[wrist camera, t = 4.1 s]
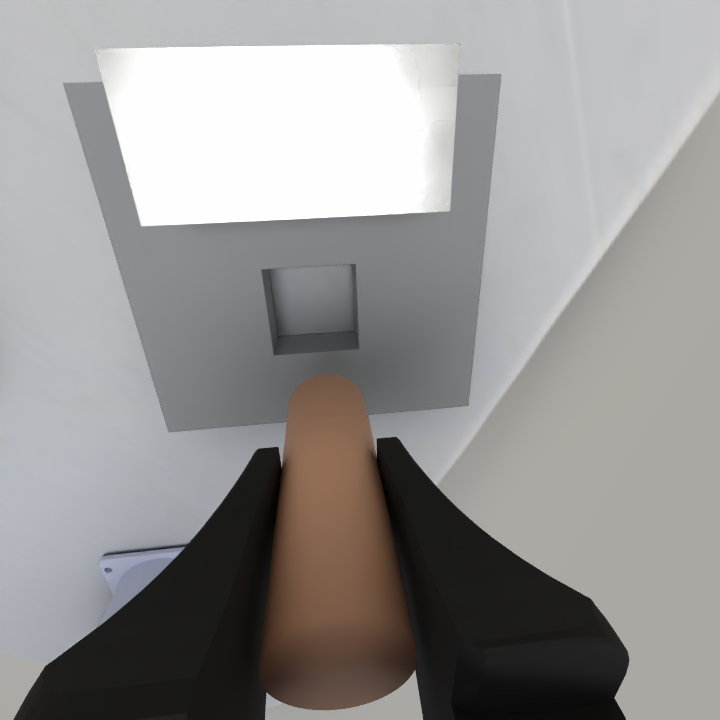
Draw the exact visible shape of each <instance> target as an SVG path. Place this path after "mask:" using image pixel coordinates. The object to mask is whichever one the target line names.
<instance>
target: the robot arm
mask: <svg viewBox="0 0 720 720" xmlns="http://www.w3.org/2000/svg"><path fill="white" fill-rule="evenodd" d="M377 461H378V466H379V471H380V476H381V480H382V485H383V489H384V494H385V499H386V503H387V508H388V513H389V518H390V522H391V527H392V532H393V536H394V541H395V546H396V551H397V555H398V560H399V565H400V570H401V574H402V579H403V584H404V589H405V593H406V598H407V603H408V608H409V612H410V617H411V622H412V627H413V631H414V636H415V641H416V646H417V650H418V663H417V666H416V669H415V671H416V677H417V682H418V689H419V695H420V701H421V708H422V714H423V720H626V718H625V716H624V714H623V713H622V711H621V709H620V707H619V706H618V704H617V702H616V700H615V699H614V697H615V695H616V693H617V691H618V689H619V687H620V685H621V683H622V681H623V679H624V677H625V675H626V672H627V668H628V665H629V656H628V651H627V650H626V648H625V647H624V645H623V643H622V642H621V640H620V639H619V637H618V636H617V634H616V632H615V631H614V630H613V628H612V627H611V625H610V624H609V622H608V621H607V619H606V618H605V617H604V616H603V614H602V613H601V612H600V611H599V609H598V608H597V607H596V606H595V604H594V603H593V601H592V600H591V599H590V598H588V597H586V596H584V595H583V594H581V593H579V592H577V591H575V590H574V589H572V588H570V587H568V586H566V585H565V584H563V583H561V582H559V581H557V580H556V579H554V578H552V577H550V576H549V575H547V574H545V573H544V572H542V571H540V570H539V569H537V568H536V567H534V566H533V565H531V564H529V563H528V562H526V561H525V560H523V559H521V558H520V557H519V556H517V555H516V554H514V553H513V552H512V551H510V550H509V549H507V548H506V547H505V546H503V545H502V544H501V543H499V542H498V541H496V540H495V539H494V538H492V537H491V536H490V535H488V534H487V533H486V532H485V531H483V530H482V529H481V528H480V527H478V526H477V525H476V524H475V523H474V522H473V521H472V520H470V519H469V518H468V517H467V516H466V515H465V514H464V513H462V512H461V511H460V510H459V509H458V508H457V507H456V506H455V505H454V504H453V503H452V502H451V501H450V500H449V499H448V498H447V497H446V496H445V495H444V494H443V493H442V492H441V491H440V490H439V489H438V488H437V486H436V485H435V484H434V483H433V482H432V481H431V480H430V479H429V477H428V476H427V475H426V474H425V473H424V472H423V470H422V469H421V468H420V467H419V466H418V464H417V463H416V462H415V461H414V459H413V458H412V457H411V455H410V454H409V453H408V451H407V450H406V449H405V447H404V446H403V444H402V443H401V441H400V440H399V439H398V438H397V437H391V438H379V439H377ZM281 471H282V468H281V461H280V455H279V448H278V447H273V448H261V449H258V450H257V451H256V452H255V453H254V455H253V456H252V458H251V460H250V461H249V463H248V465H247V466H246V468H245V470H244V471H243V473H242V474H241V476H240V477H239V479H238V480H237V482H236V483H235V485H234V486H233V488H232V489H231V490H230V492H229V493H228V495H227V496H226V498H225V499H224V500H223V502H222V503H221V504H220V506H219V507H218V508H217V510H216V511H215V512H214V513H213V515H212V516H211V517H210V519H209V520H208V521H207V522H206V524H205V525H204V526H203V527H202V529H201V530H200V531H199V532H198V533H197V534H196V536H195V537H194V538H193V539H192V540H191V541H190V542H189V543H188V545H187V546H186V547H180V548H171V549H162V550H153V551H144V552H135V553H126V554H117V555H108V556H103V557H102V558H101V559H100V561H99V563H98V565H99V568H100V570H101V572H102V574H103V576H104V578H105V580H106V582H107V584H108V586H109V588H110V590H111V592H112V594H113V595H112V598H111V600H110V602H109V604H108V606H107V608H106V610H105V612H104V614H103V616H102V618H101V620H100V622H99V625H98V627H97V628H96V629H95V630H94V631H92V632H91V633H90V634H88V635H87V636H86V637H84V638H83V639H82V640H80V641H79V642H78V643H76V644H75V645H74V646H72V647H71V648H70V649H68V650H67V651H66V652H64V653H63V654H62V655H60V656H59V657H58V658H56V659H55V660H53V661H52V662H51V663H49V664H48V665H46V666H45V668H44V669H43V671H42V672H41V674H40V676H39V677H38V679H37V680H36V682H35V683H34V685H33V686H32V688H31V690H30V691H29V693H28V694H27V696H26V698H25V700H24V702H23V703H22V705H21V707H20V709H19V711H18V712H17V714H16V716H15V718H14V720H265V706H266V691H265V690H264V688H263V687H262V685H261V683H260V681H259V676H258V671H259V661H260V652H261V644H262V635H263V626H264V618H265V609H266V600H267V592H268V583H269V575H270V566H271V557H272V549H273V540H274V531H275V523H276V514H277V505H278V497H279V488H280V479H281Z"/></svg>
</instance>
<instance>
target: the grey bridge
mask: <svg viewBox="0 0 720 720" xmlns="http://www.w3.org/2000/svg"><path fill="white" fill-rule="evenodd" d="M94 50H95V54H96V58H97V61H98V65H99V69H100V73H101V76H102V80H103V84H104V88H105V92H106V95H107V99H108V103H109V107H110V110H111V114H112V118H113V122H114V125H115V129H116V133H117V137H118V140H119V144H120V148H121V152H122V156H123V159H124V163H125V167H126V171H127V174H128V178H129V182H130V186H131V189H132V193H133V197H134V201H135V204H136V208H137V212H138V216H139V220H140V223H141V226H157V225H177V224H198V223H219V222H240V221H260V220H281V219H302V218H323V217H343V216H364V215H385V214H406V213H426V212H447V211H450V204H451V188H452V171H453V155H454V138H455V121H456V105H457V88H458V72H459V55H460V44H398V45H326V46H255V47H183V48H112V49H94Z"/></svg>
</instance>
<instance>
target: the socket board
mask: <svg viewBox="0 0 720 720" xmlns="http://www.w3.org/2000/svg"><path fill="white" fill-rule="evenodd" d="M500 84H501V74H482V75H458V88H457V105H456V121H455V138H454V155H453V171H452V188H451V204H450V211H447V212H426V213H406V214H385V215H364V216H343V217H323V218H302V219H281V220H260V221H240V222H219V223H198V224H177V225H157V226H141V223H140V220H139V216H138V212H137V208H136V204H135V201H134V197H133V193H132V189H131V186H130V182H129V178H128V174H127V171H126V167H125V163H124V159H123V156H122V152H121V148H120V144H119V140H118V137H117V133H116V129H115V125H114V122H113V118H112V114H111V110H110V107H109V103H108V99H107V95H106V92H105V88H104V84H103V82H89V83H63V85H64V88H65V91H66V95H67V98H68V101H69V105H70V108H71V111H72V115H73V118H74V121H75V124H76V128H77V131H78V134H79V138H80V141H81V144H82V148H83V151H84V154H85V158H86V161H87V164H88V167H89V171H90V174H91V177H92V181H93V184H94V187H95V191H96V194H97V197H98V200H99V204H100V207H101V210H102V214H103V217H104V220H105V224H106V227H107V230H108V234H109V237H110V240H111V243H112V247H113V250H114V253H115V257H116V260H117V263H118V267H119V270H120V273H121V276H122V280H123V283H124V286H125V290H126V293H127V296H128V300H129V303H130V306H131V310H132V313H133V316H134V319H135V323H136V326H137V329H138V333H139V336H140V339H141V343H142V346H143V349H144V352H145V356H146V359H147V362H148V366H149V369H150V372H151V376H152V379H153V382H154V386H155V389H156V392H157V395H158V399H159V402H160V405H161V409H162V412H163V415H164V419H165V422H166V425H167V428H168V432H178V431H189V430H200V429H212V428H223V427H234V426H246V425H257V424H268V423H280V422H287V419H288V410H289V402H290V398H291V396H292V394H293V392H294V390H295V389H296V388H297V387H298V386H299V385H300V384H301V383H302V382H304V381H305V380H307V379H309V378H311V377H314V376H317V375H322V374H335V375H339V376H343V377H345V378H347V379H349V380H351V381H352V382H354V383H355V384H356V385H357V386H358V387H359V389H360V390H361V392H362V394H363V396H364V399H365V404H366V408H367V413H368V415H370V414H382V413H393V412H404V411H416V410H427V409H438V408H450V407H461V406H468V405H469V395H470V385H471V375H472V365H473V355H474V344H475V334H476V324H477V314H478V304H479V294H480V284H481V274H482V264H483V254H484V244H485V234H486V224H487V214H488V204H489V194H490V184H491V174H492V164H493V154H494V144H495V134H496V124H497V114H498V104H499V94H500ZM345 264H352V280H353V303H354V325H355V331H348V332H334V333H320V334H306V335H292V336H278V332H277V325H276V317H275V310H274V303H273V295H272V288H271V281H270V274H269V269H276V268H293V267H310V266H328V265H345Z"/></svg>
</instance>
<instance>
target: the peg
mask: <svg viewBox="0 0 720 720" xmlns="http://www.w3.org/2000/svg"><path fill="white" fill-rule="evenodd" d="M417 663H418V650H417V646H416V641H415V636H414V631H413V627H412V622H411V617H410V612H409V608H408V603H407V598H406V593H405V589H404V584H403V579H402V574H401V570H400V565H399V560H398V555H397V551H396V546H395V541H394V536H393V532H392V527H391V522H390V518H389V513H388V508H387V503H386V499H385V494H384V489H383V485H382V480H381V476H380V471H379V466H378V461H377V456H376V451H375V446H374V442H373V437H372V432H371V427H370V423H369V418H368V413H367V408H366V404H365V399H364V396H363V394H362V392H361V390H360V389H359V387H358V386H357V385H356V384H355V383H354V382H352V381H351V380H349V379H347V378H345V377H343V376H339V375H335V374H322V375H317V376H314V377H311V378H309V379H307V380H305V381H304V382H302V383H301V384H300V385H299V386H298V387H297V388H296V389H295V390H294V392H293V394H292V396H291V398H290V402H289V410H288V419H287V427H286V436H285V445H284V453H283V462H282V471H281V479H280V488H279V497H278V505H277V514H276V523H275V531H274V540H273V549H272V557H271V566H270V575H269V583H268V592H267V600H266V609H265V618H264V626H263V635H262V644H261V652H260V661H259V671H258V676H259V681H260V683H261V685H262V687H263V688H264V690H265V691H266V692H267V693H268V694H269V695H271V696H272V697H273V698H275V699H277V700H279V701H281V702H283V703H285V704H288V705H291V706H295V707H298V708H305V709H312V710H336V709H345V708H350V707H355V706H360V705H363V704H367V703H370V702H372V701H375V700H378V699H380V698H382V697H384V696H386V695H388V694H390V693H391V692H393V691H395V690H396V689H398V688H399V687H400V686H402V685H403V684H404V683H405V682H406V681H407V680H408V679H409V678H410V676H411V675H412V674H413V672H414V670H415V669H416V666H417Z"/></svg>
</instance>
